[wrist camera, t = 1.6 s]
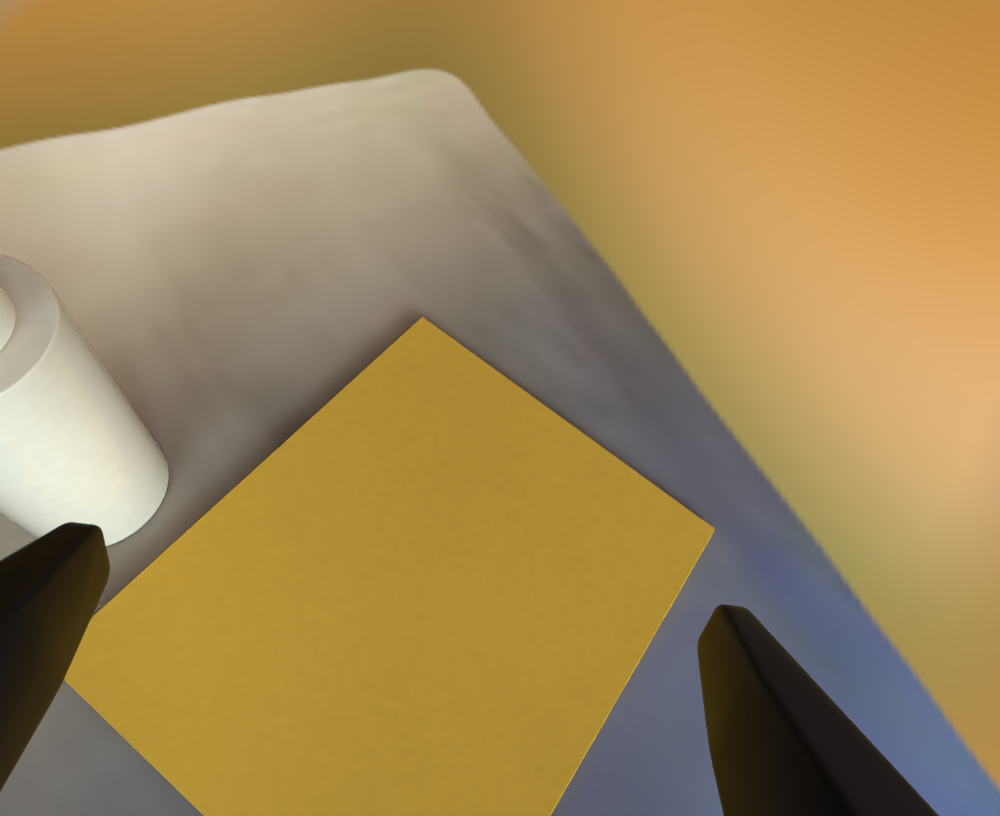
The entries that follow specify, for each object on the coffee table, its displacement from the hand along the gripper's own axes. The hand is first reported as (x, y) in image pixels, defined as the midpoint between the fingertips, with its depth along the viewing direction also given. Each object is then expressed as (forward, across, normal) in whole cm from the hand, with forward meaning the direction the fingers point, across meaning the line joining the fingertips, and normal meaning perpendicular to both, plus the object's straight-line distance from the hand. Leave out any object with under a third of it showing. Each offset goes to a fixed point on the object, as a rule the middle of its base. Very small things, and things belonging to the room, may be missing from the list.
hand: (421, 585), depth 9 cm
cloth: (+10, 0, +12) cm, 15 cm away
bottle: (+12, +12, +11) cm, 20 cm away
